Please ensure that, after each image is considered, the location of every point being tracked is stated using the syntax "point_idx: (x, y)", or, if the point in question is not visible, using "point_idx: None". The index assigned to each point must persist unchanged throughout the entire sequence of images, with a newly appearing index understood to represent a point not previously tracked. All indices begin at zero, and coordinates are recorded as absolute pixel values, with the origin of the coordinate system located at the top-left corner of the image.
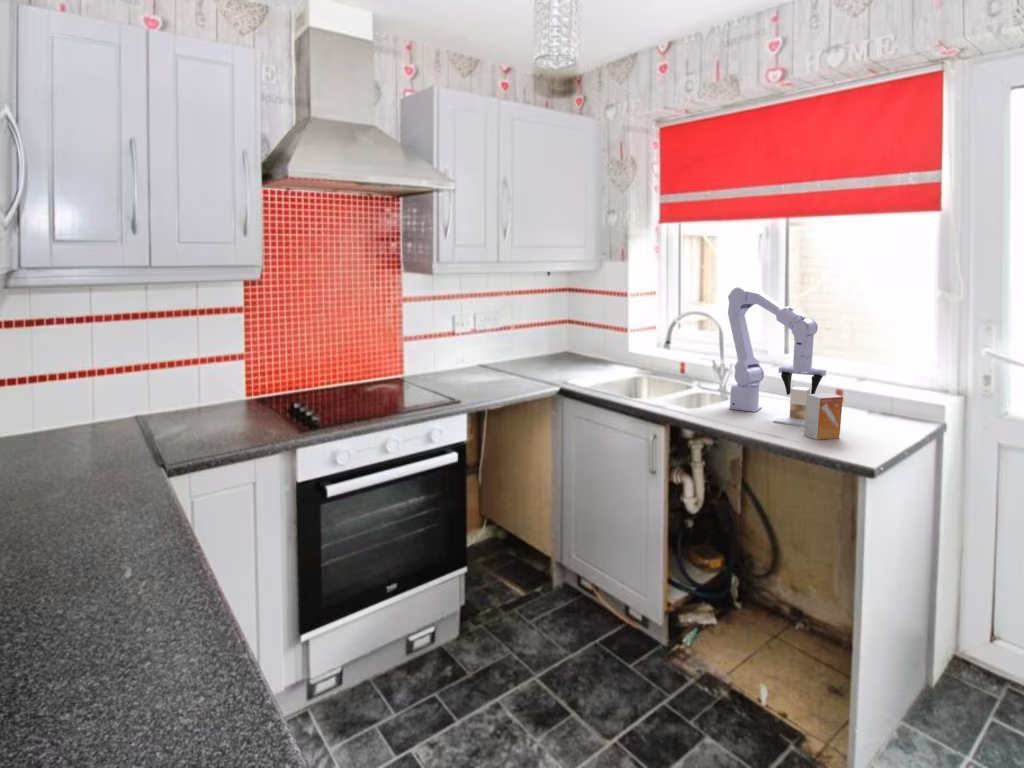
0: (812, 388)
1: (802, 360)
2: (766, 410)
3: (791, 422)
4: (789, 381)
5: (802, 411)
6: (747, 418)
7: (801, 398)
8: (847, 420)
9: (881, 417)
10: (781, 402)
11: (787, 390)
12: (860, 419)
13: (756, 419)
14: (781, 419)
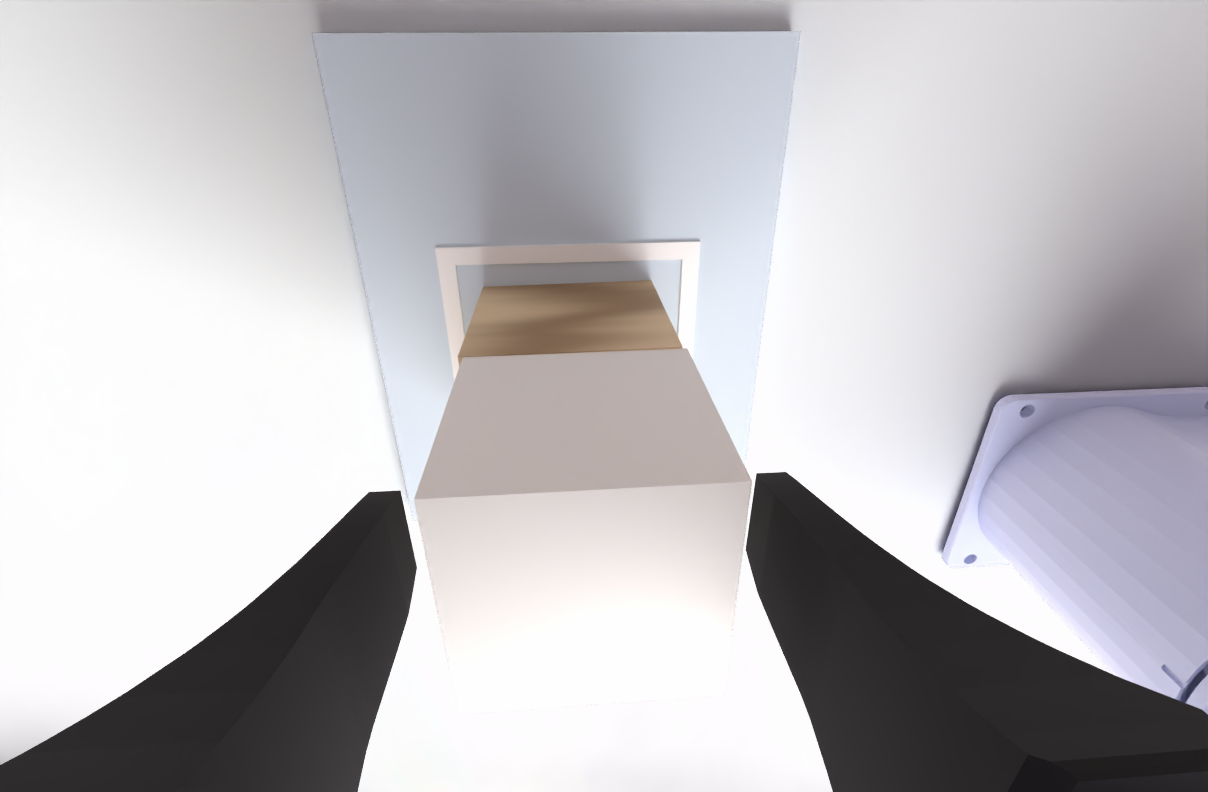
0: (308, 589)
1: None
2: (896, 509)
3: (577, 57)
4: (858, 709)
5: (511, 317)
6: (1093, 79)
7: (527, 402)
8: (200, 527)
9: (71, 717)
10: (807, 748)
11: (806, 506)
12: (143, 604)
13: (989, 87)
14: (717, 157)
